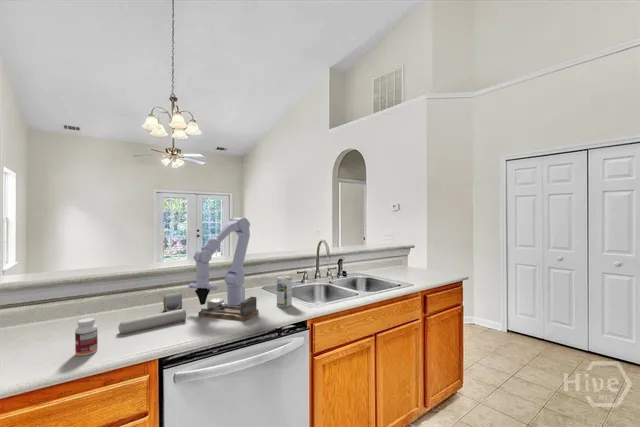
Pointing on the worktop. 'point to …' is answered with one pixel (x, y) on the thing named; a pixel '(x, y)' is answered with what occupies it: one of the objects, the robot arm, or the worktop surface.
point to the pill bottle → (86, 337)
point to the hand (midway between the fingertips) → (202, 304)
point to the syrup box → (284, 291)
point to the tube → (152, 321)
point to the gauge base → (234, 311)
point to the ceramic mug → (172, 301)
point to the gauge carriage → (216, 304)
